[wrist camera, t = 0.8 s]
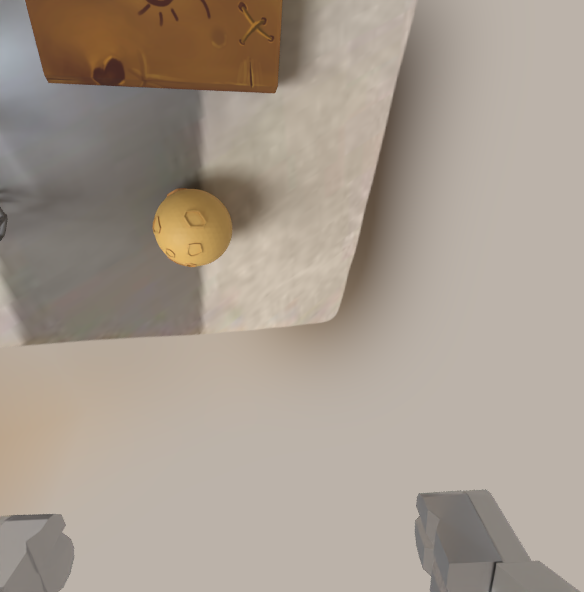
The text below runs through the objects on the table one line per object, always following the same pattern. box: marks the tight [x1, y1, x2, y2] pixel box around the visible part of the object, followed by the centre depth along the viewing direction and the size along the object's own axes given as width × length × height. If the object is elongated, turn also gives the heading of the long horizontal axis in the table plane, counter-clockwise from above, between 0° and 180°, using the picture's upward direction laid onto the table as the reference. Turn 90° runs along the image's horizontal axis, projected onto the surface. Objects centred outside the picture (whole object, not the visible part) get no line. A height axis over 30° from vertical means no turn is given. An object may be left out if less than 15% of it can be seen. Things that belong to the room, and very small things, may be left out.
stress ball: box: [153, 188, 232, 267], centre depth 50 cm, size 10×10×10 cm
